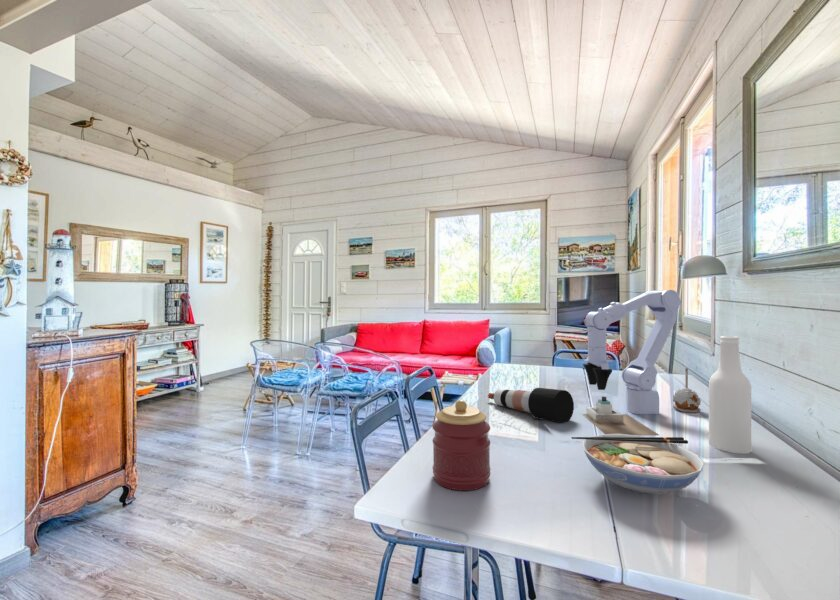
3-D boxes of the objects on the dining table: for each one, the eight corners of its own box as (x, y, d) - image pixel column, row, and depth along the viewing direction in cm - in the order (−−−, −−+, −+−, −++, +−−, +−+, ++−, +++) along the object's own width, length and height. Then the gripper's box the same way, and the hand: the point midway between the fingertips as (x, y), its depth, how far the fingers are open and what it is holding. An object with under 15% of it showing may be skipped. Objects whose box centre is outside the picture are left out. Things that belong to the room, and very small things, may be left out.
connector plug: (607, 416, 130) (607, 395, 130) (612, 420, 126) (612, 398, 126) (596, 416, 130) (596, 395, 130) (600, 420, 126) (600, 398, 126)
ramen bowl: (594, 510, 75) (594, 467, 75) (566, 461, 98) (566, 428, 98) (738, 519, 72) (738, 475, 72) (675, 466, 94) (675, 432, 94)
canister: (424, 470, 93) (423, 396, 93) (473, 462, 98) (472, 391, 97) (447, 496, 81) (446, 410, 81) (501, 485, 85) (501, 404, 85)
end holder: (612, 414, 132) (612, 407, 132) (623, 422, 124) (623, 414, 124) (586, 414, 133) (586, 407, 132) (595, 422, 124) (595, 414, 124)
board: (627, 417, 132) (627, 414, 132) (659, 438, 113) (659, 435, 113) (581, 416, 133) (581, 413, 133) (605, 437, 113) (605, 434, 113)
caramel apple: (696, 415, 134) (696, 371, 134) (670, 410, 140) (670, 368, 140) (702, 410, 140) (702, 368, 140) (677, 406, 145) (677, 365, 145)
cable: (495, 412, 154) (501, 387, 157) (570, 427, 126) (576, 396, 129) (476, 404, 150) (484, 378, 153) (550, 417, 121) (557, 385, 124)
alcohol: (748, 448, 105) (748, 335, 105) (753, 460, 98) (753, 338, 97) (707, 441, 110) (707, 334, 110) (709, 452, 102) (709, 337, 102)
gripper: (577, 344, 141) (577, 382, 141) (592, 349, 127) (593, 392, 127) (597, 344, 141) (598, 382, 141) (615, 349, 126) (615, 392, 127)
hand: (597, 387), depth 134 cm, fingers open, 7 cm apart
